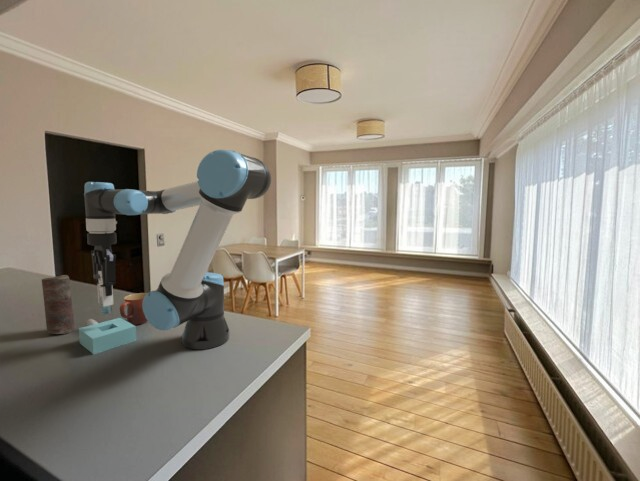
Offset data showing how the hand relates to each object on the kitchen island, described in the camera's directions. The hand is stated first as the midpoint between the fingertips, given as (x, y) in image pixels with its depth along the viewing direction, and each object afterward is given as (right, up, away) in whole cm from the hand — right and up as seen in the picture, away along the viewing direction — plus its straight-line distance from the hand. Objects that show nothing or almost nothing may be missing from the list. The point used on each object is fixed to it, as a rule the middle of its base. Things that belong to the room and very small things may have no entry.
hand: (105, 303), depth 97 cm
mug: (-1, -11, +16) cm, 20 cm away
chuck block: (-4, -12, +4) cm, 14 cm away
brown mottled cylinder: (-21, -12, +8) cm, 26 cm away
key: (0, -3, 0) cm, 3 cm away
